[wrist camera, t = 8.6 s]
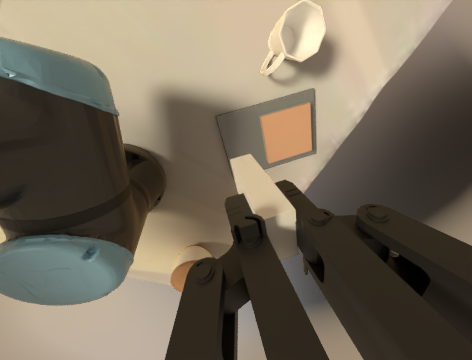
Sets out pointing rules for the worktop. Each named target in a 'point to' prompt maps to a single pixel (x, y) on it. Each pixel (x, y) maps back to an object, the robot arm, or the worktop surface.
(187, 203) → the worktop surface
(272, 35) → the cup
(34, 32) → the worktop surface
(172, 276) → the lidded jar
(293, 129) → the tile
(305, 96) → the mat
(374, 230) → the robot arm
